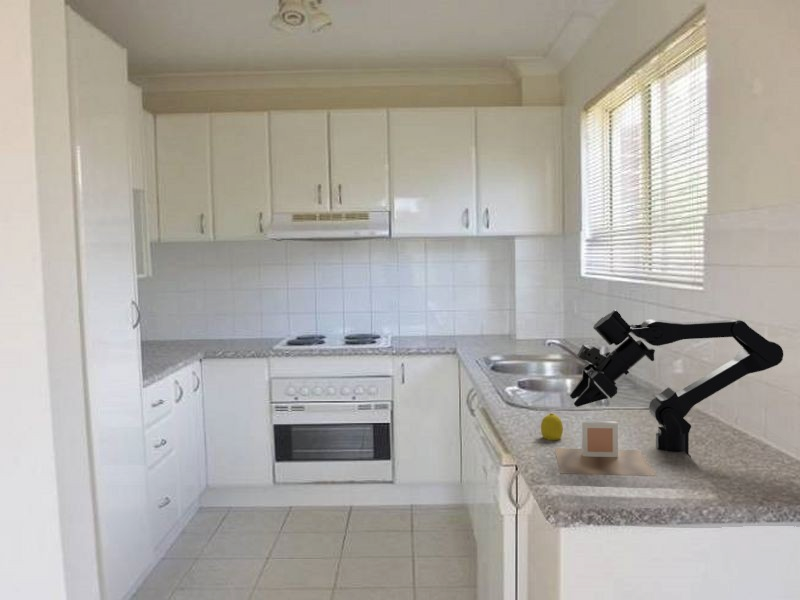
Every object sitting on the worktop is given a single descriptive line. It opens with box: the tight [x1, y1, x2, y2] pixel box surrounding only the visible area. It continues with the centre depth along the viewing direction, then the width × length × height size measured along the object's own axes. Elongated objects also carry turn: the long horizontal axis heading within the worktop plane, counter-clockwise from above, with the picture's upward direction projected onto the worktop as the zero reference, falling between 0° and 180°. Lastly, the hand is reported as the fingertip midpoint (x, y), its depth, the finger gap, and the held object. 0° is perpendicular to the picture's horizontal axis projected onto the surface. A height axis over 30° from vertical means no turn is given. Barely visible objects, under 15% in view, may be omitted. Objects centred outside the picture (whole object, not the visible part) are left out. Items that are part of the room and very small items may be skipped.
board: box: [554, 447, 658, 477], centre depth 145 cm, size 20×18×2 cm
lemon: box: [540, 412, 564, 441], centre depth 164 cm, size 6×6×8 cm
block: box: [580, 420, 619, 457], centre depth 148 cm, size 8×2×8 cm, turn 80°
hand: (573, 401), depth 155 cm, fingers open, 9 cm apart
